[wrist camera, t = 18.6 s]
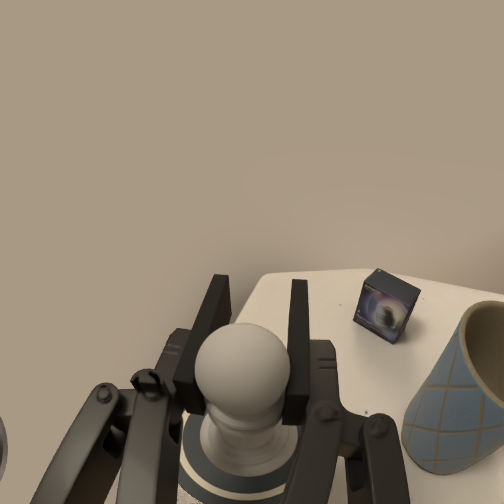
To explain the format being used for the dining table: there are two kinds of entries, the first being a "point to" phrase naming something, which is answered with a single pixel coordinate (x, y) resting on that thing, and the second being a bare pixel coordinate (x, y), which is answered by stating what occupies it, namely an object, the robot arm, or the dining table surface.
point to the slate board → (224, 473)
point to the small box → (385, 305)
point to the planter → (461, 397)
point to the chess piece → (244, 400)
